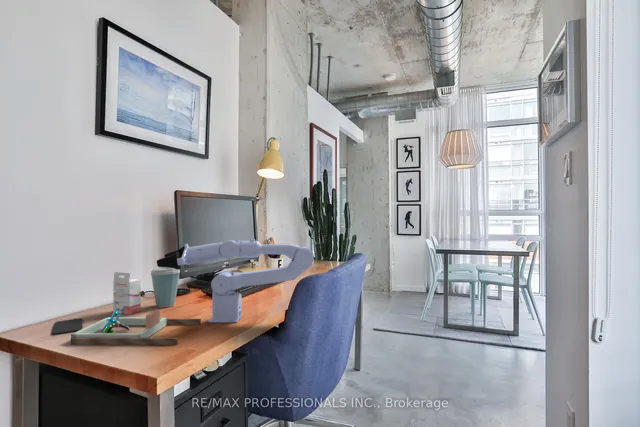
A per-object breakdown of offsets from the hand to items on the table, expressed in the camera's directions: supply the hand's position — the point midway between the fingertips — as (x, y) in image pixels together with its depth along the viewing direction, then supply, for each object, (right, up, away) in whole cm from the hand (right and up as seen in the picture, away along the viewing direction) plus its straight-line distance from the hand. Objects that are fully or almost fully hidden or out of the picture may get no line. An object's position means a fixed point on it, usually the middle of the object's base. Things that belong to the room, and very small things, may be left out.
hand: (161, 260), depth 115 cm
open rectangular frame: (-6, -20, -12) cm, 24 cm away
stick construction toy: (-8, -20, -12) cm, 25 cm away
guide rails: (0, -20, -12) cm, 23 cm away
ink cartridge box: (-18, -21, +11) cm, 29 cm away
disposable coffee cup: (-8, -21, +20) cm, 30 cm away
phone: (-27, -21, -6) cm, 34 cm away
